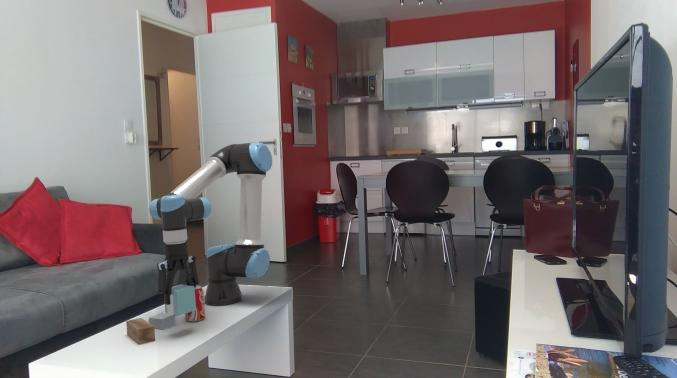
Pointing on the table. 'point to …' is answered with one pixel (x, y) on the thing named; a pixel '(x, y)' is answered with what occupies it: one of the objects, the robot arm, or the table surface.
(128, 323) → the walnut bar
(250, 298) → the table surface
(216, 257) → the robot arm
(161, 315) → the slate block
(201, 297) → the soda can
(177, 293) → the teal block
